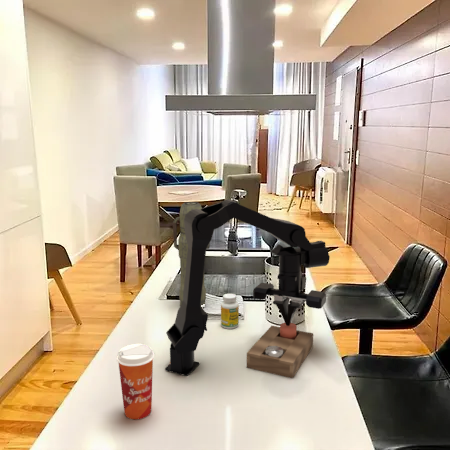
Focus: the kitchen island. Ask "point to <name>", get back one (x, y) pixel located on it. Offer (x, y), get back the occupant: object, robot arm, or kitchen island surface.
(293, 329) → the pink round plug
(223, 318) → the supplement bottle
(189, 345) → the robot arm
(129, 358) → the paper cup
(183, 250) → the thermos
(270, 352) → the grey plunger
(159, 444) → the kitchen island surface
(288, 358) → the press box
